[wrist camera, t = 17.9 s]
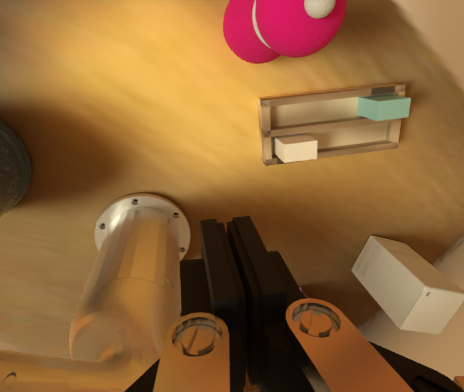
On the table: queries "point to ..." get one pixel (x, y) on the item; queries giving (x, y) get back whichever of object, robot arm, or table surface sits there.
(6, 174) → the canister
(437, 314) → the supplement box
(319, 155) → the wooden shelf rack
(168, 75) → the table surface
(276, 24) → the pepper mill
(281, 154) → the ivory tab
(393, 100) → the teal tab
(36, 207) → the table surface
